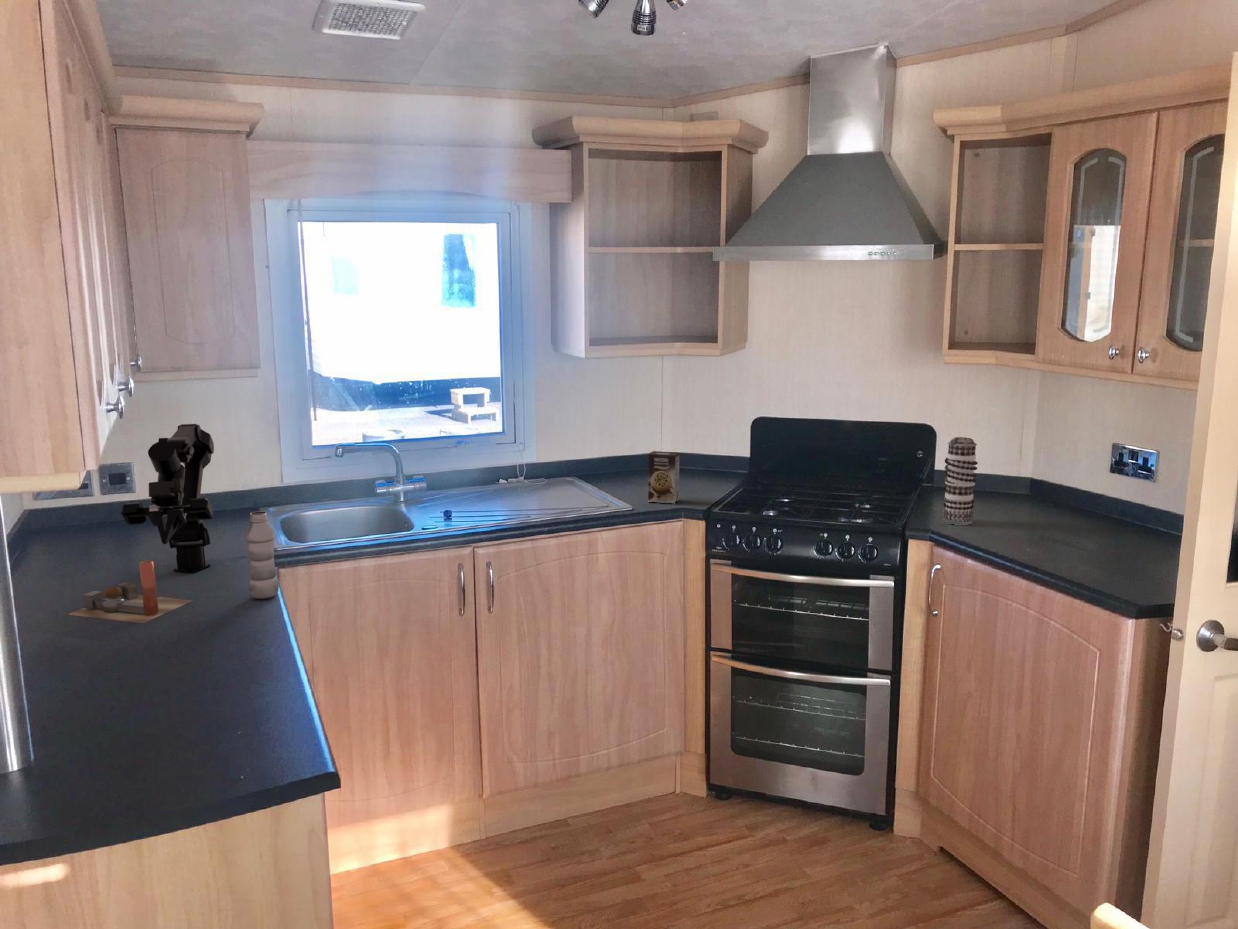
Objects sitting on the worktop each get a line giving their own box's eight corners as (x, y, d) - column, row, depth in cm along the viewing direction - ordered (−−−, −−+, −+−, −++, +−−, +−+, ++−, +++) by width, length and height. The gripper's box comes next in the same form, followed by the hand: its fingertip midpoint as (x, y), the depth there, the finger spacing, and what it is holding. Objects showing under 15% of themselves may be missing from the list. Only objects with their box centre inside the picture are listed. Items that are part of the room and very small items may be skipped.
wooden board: (121, 597, 228) (119, 580, 227) (193, 605, 222) (191, 587, 221) (68, 619, 214) (66, 601, 213) (143, 628, 208) (141, 609, 207)
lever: (81, 609, 216) (75, 558, 213) (97, 602, 220) (91, 553, 218) (149, 616, 210) (144, 565, 208) (164, 610, 215) (159, 559, 212)
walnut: (114, 598, 224) (112, 583, 223) (127, 599, 223) (125, 584, 222) (101, 603, 220) (100, 588, 220) (114, 604, 219) (113, 589, 219)
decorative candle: (938, 524, 288) (943, 439, 283) (944, 517, 296) (948, 435, 291) (971, 527, 284) (976, 442, 279) (976, 520, 292) (981, 437, 287)
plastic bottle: (248, 603, 223) (241, 517, 220) (251, 594, 230) (244, 510, 226) (278, 600, 225) (272, 515, 221) (280, 591, 232) (274, 508, 228)
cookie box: (647, 503, 317) (647, 453, 314) (652, 498, 323) (652, 450, 320) (675, 504, 314) (675, 455, 311) (679, 500, 320) (679, 451, 317)
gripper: (117, 469, 223) (109, 529, 215) (204, 463, 227) (199, 522, 218) (131, 494, 232) (124, 553, 224) (215, 489, 236) (210, 546, 228)
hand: (164, 543), depth 223 cm, fingers closed
